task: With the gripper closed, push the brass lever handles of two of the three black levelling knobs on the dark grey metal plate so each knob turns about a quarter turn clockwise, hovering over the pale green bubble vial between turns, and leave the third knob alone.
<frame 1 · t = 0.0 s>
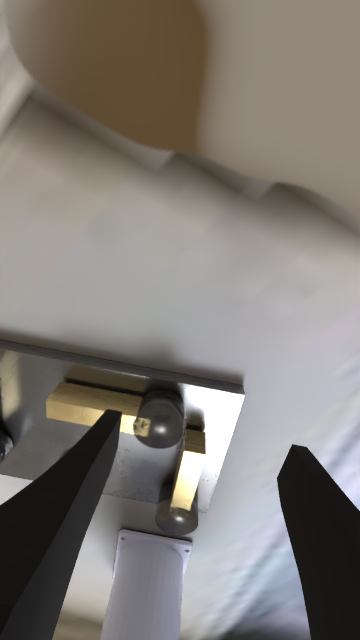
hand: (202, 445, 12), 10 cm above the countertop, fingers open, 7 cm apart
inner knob: (183, 484, 24), point 3 cm above the countertop, hinge at 0.0°
levelling plate: (95, 425, 25), on the countertop
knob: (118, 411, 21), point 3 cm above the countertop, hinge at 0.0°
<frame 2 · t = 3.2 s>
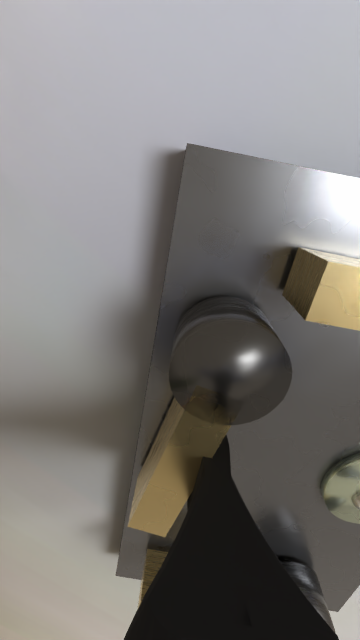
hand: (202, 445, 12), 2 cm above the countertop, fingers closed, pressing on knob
levelling plate: (282, 442, 14), on the countertop
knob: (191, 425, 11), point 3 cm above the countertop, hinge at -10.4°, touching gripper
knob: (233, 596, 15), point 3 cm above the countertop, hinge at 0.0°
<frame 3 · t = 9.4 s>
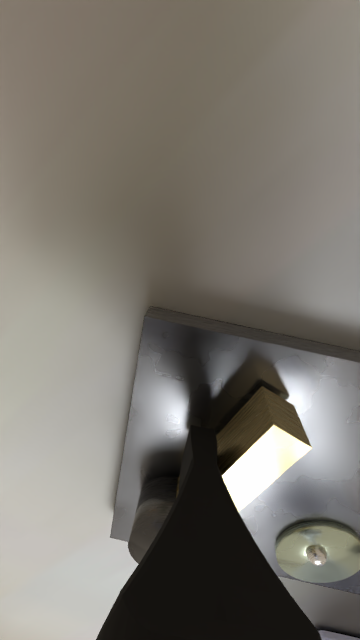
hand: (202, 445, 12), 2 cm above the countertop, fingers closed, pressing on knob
levelling plate: (347, 478, 15), on the countertop
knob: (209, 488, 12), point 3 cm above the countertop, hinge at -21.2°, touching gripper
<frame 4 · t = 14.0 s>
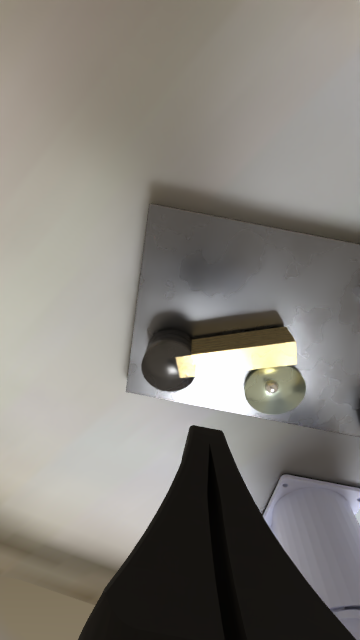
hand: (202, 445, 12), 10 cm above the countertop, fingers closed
levelling plate: (293, 335, 21), on the countertop
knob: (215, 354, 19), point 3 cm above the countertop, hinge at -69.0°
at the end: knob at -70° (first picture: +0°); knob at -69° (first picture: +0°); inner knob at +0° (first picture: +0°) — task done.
